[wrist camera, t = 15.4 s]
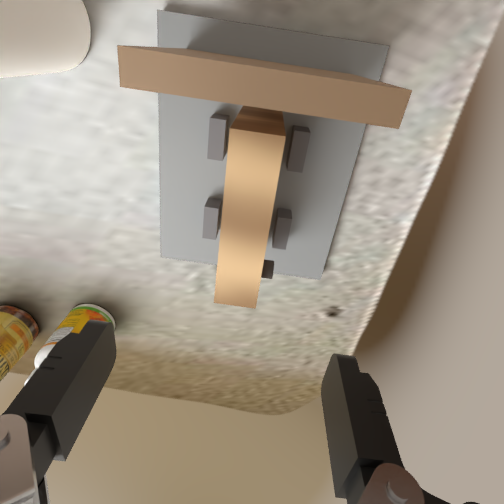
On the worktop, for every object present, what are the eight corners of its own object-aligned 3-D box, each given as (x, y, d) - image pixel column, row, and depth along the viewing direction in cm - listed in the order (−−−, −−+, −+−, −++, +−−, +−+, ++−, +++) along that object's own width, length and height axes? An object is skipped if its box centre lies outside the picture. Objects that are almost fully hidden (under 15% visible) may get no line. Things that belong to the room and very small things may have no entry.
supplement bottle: (124, 332, 40) (85, 405, 32) (86, 339, 41) (38, 412, 33) (102, 298, 38) (53, 368, 29) (62, 307, 39) (3, 376, 30)
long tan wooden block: (270, 247, 31) (269, 310, 24) (228, 241, 31) (213, 302, 24) (295, 112, 25) (304, 139, 18) (243, 105, 25) (229, 128, 18)
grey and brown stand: (319, 273, 34) (341, 382, 23) (164, 251, 34) (109, 350, 23) (384, 46, 24) (484, 40, 12) (162, 11, 23) (58, -27, 12)
